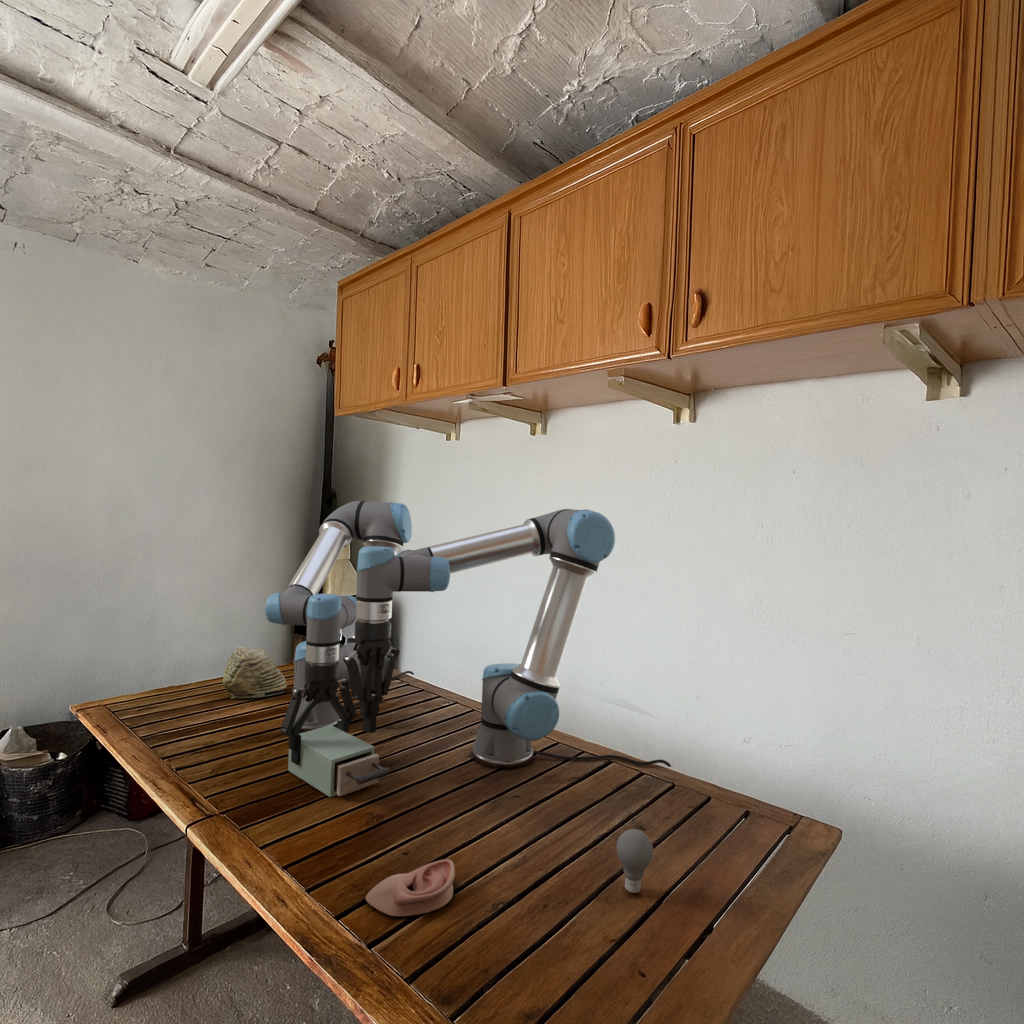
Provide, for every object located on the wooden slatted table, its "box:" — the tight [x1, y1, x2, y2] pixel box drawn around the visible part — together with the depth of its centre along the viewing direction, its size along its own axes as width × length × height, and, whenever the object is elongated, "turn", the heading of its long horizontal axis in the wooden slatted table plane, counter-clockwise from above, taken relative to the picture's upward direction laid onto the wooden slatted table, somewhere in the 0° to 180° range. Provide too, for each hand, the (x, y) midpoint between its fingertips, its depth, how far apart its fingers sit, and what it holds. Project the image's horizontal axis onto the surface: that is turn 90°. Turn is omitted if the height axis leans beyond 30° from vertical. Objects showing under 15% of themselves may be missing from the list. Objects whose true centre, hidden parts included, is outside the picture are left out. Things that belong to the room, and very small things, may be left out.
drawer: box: [334, 753, 391, 797], centre depth 140 cm, size 22×10×6 cm, turn 48°
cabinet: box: [287, 725, 376, 798], centre depth 144 cm, size 18×11×8 cm, turn 48°
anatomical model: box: [365, 858, 456, 918], centre depth 102 cm, size 13×4×12 cm
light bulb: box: [615, 828, 654, 894], centre depth 106 cm, size 6×6×10 cm
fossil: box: [222, 646, 288, 699], centre depth 198 cm, size 9×18×15 cm, turn 132°
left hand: (318, 755), depth 147 cm, fingers closed on cabinet, 11 cm apart
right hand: (369, 730), depth 134 cm, fingers closed
